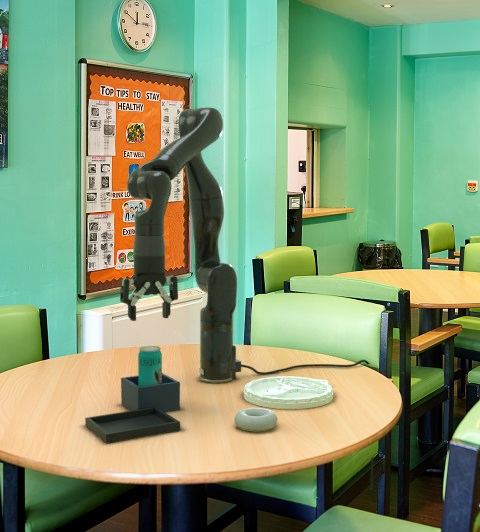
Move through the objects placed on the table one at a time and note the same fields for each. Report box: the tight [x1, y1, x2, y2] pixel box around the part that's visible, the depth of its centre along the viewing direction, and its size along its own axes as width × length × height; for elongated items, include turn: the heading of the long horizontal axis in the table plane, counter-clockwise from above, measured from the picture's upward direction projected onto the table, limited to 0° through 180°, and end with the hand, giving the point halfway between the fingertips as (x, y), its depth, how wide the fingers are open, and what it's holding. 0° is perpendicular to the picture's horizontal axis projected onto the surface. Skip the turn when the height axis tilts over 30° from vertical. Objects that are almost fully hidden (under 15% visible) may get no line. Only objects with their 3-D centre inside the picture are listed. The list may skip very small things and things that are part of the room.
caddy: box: [120, 372, 181, 413], centre depth 202 cm, size 11×11×7 cm
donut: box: [233, 407, 278, 432], centre depth 188 cm, size 10×3×10 cm
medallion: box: [243, 375, 334, 410], centre depth 215 cm, size 24×27×2 cm
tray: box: [84, 407, 181, 444], centre depth 186 cm, size 18×14×2 cm
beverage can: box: [137, 345, 163, 387], centre depth 201 cm, size 6×6×15 cm
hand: (149, 319), depth 200 cm, fingers open, 8 cm apart
